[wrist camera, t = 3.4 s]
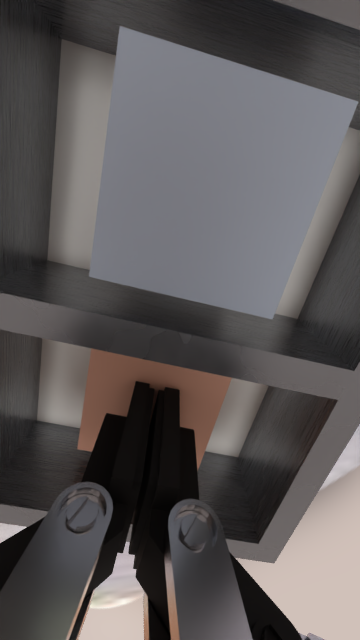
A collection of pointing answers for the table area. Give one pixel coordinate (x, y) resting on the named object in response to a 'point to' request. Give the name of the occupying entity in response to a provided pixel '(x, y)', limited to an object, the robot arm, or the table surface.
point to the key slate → (210, 175)
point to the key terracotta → (118, 384)
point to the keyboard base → (79, 226)
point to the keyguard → (163, 310)
